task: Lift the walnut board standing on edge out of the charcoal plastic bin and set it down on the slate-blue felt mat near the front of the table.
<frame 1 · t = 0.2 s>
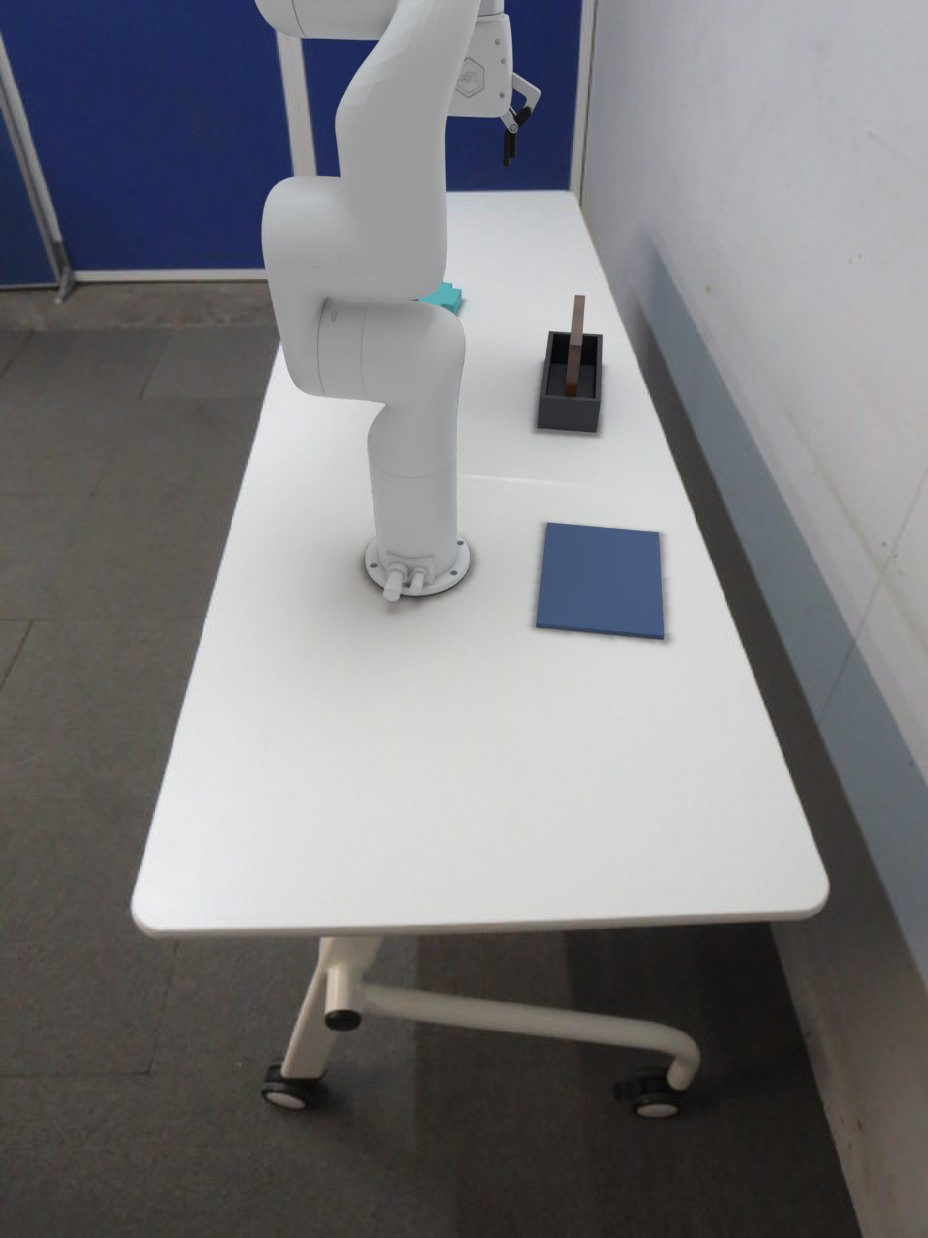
hand: (470, 162, 106), 31 cm above the table, tool pointing down, fingers open, 9 cm apart
bin: (569, 397, 124), on the table
mat: (600, 578, 95), on the table
board: (569, 393, 124), point 1 cm above the table, touching bin
alien figure: (404, 304, 147), on the table
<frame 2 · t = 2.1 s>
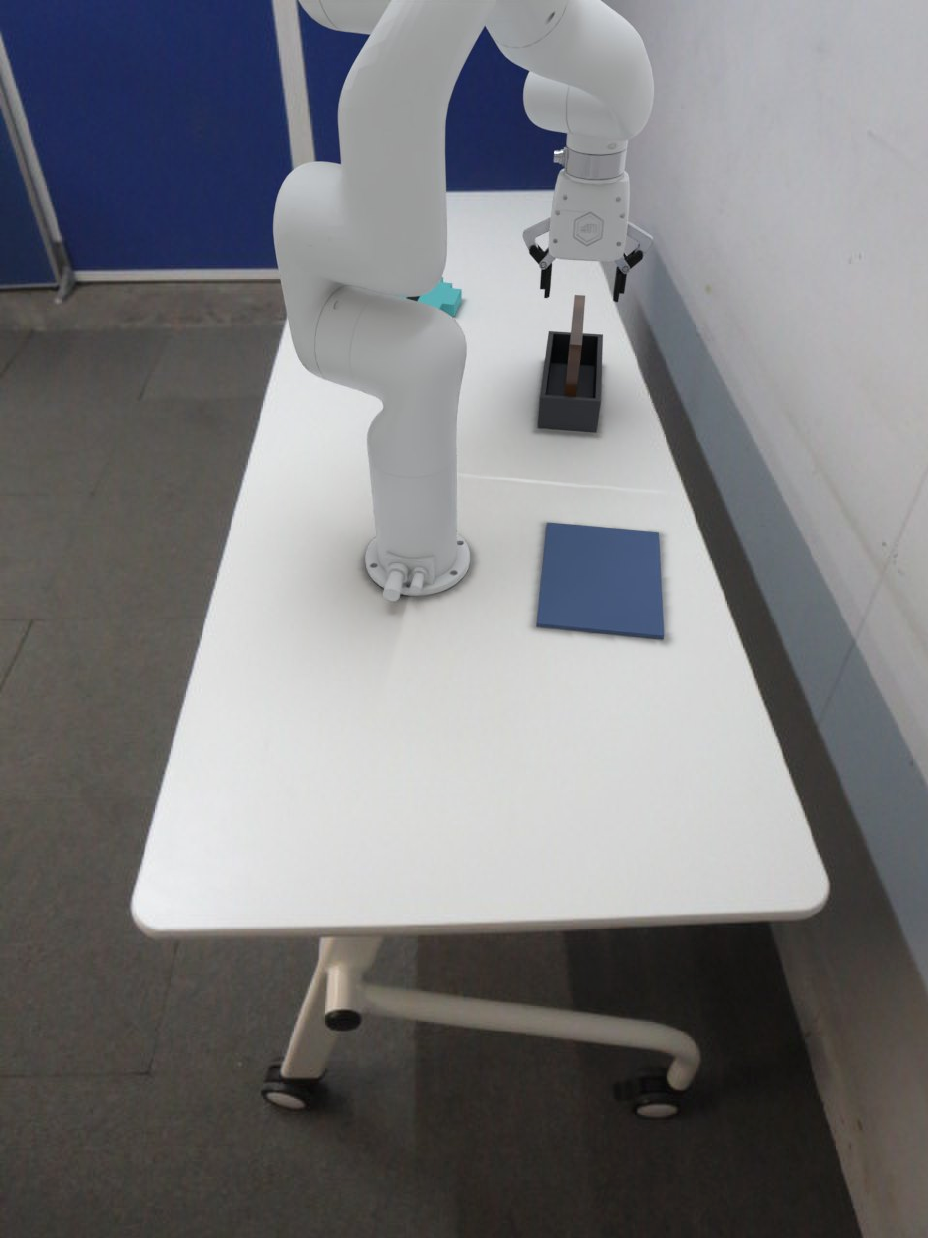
hand: (581, 295, 113), 16 cm above the table, tool pointing down, fingers open, 9 cm apart
nothing on the table moved.
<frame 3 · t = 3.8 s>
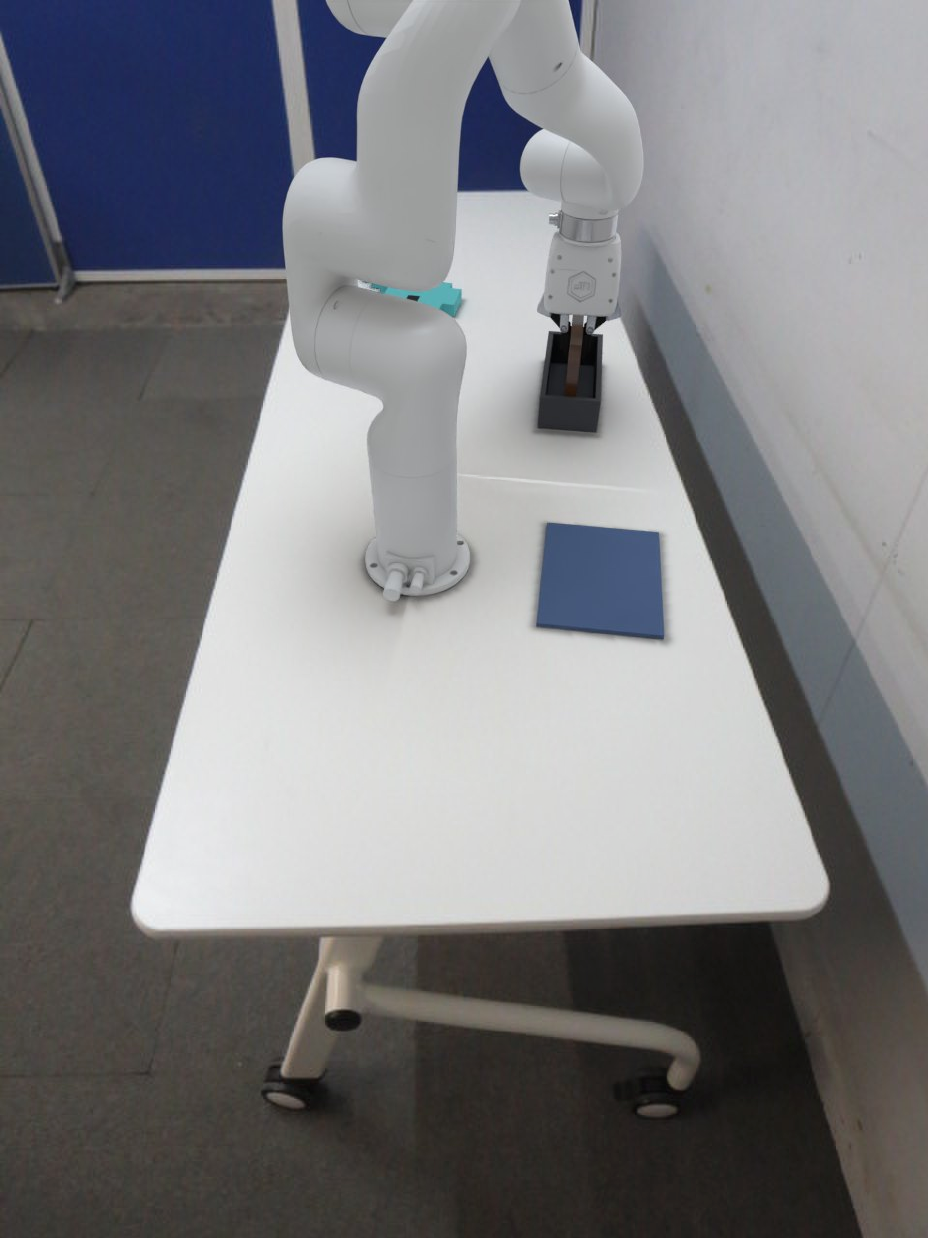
hand: (574, 354, 119), 7 cm above the table, tool pointing down, fingers closed on board, 1 cm apart
board: (569, 393, 124), point 1 cm above the table, touching bin, gripper
everything else where it was.
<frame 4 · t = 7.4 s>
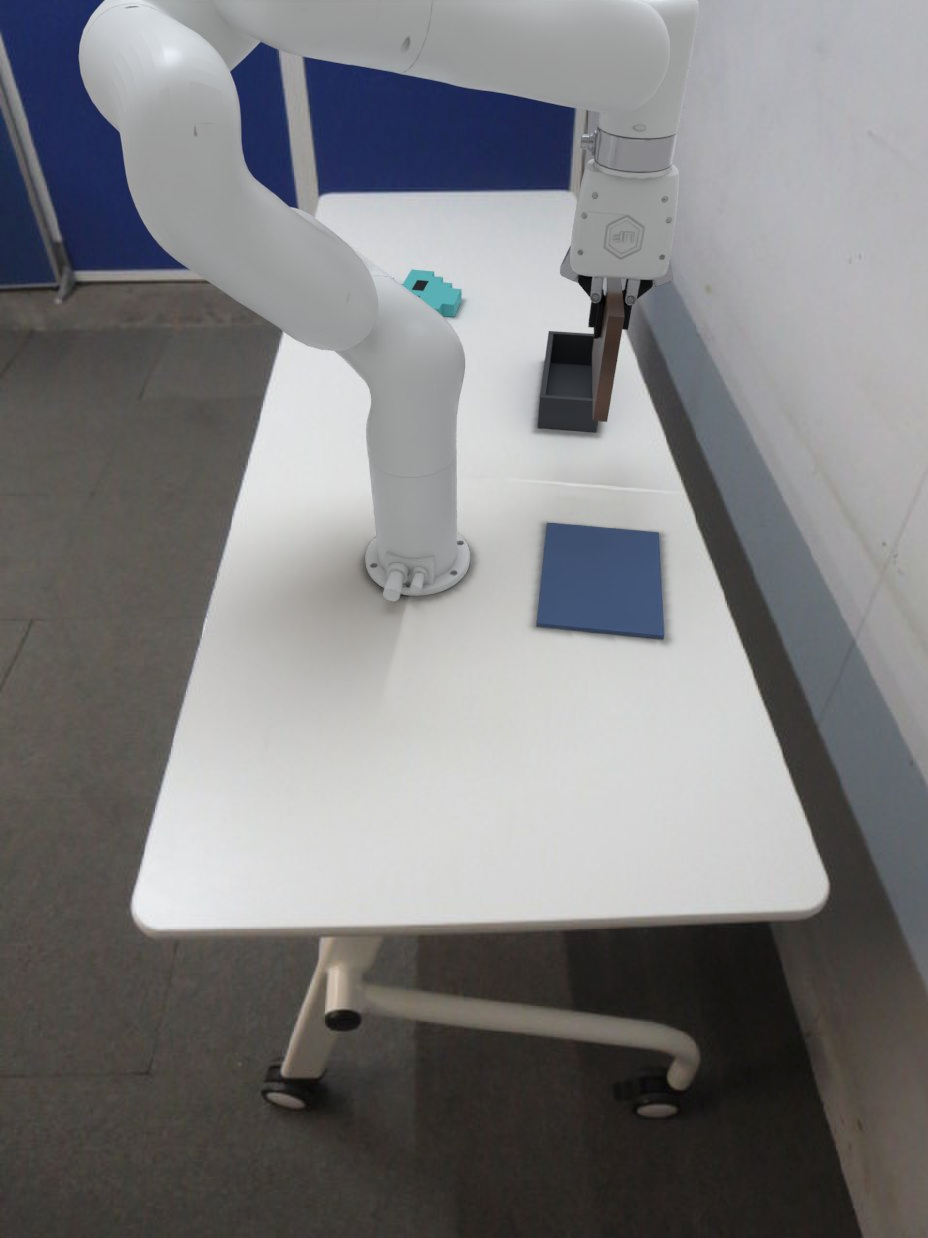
hand: (607, 332, 90), 23 cm above the table, tool pointing down, fingers closed on board
board: (599, 385, 94), point 16 cm above the table, touching gripper
everything else where it was.
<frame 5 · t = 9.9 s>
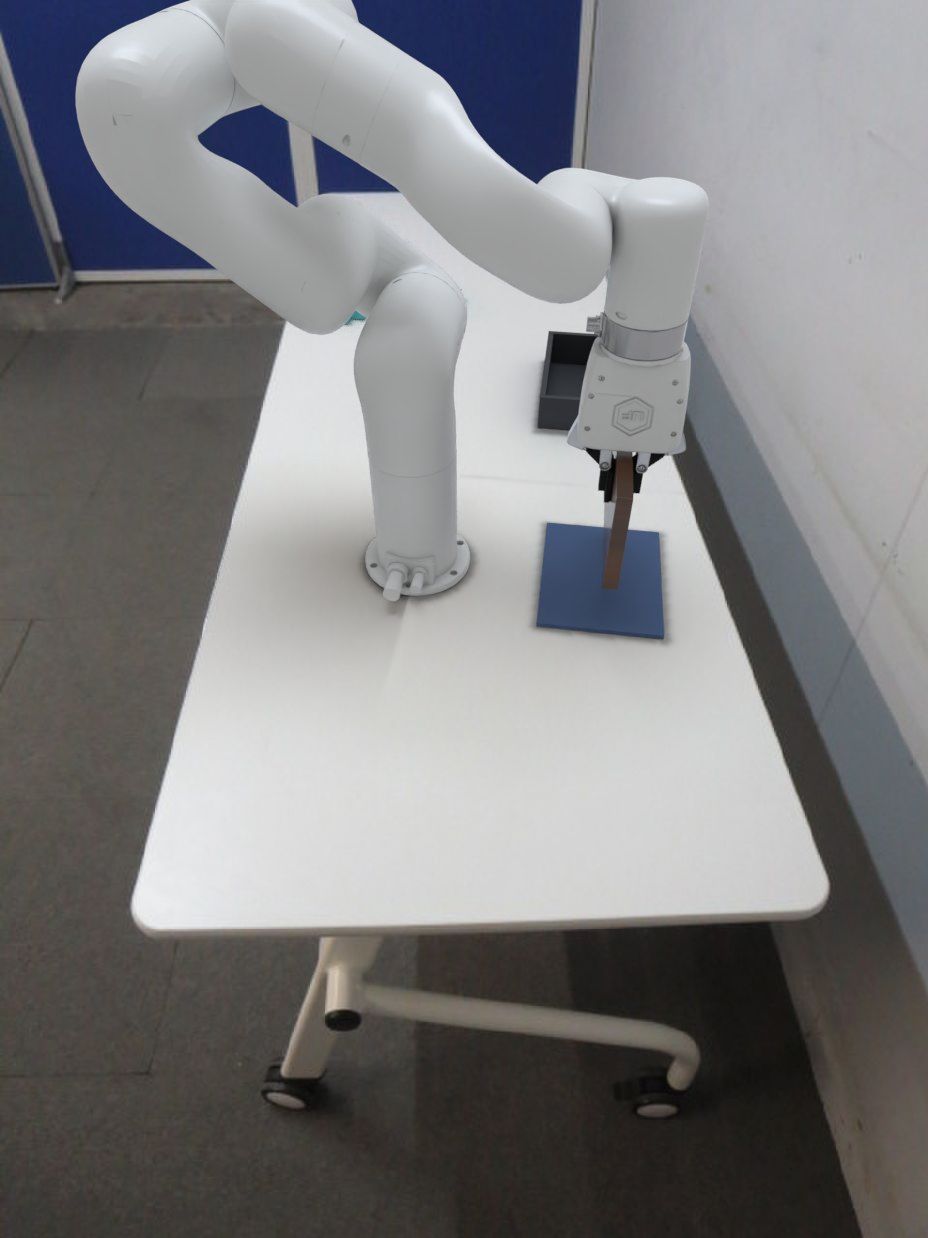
hand: (617, 494, 86), 12 cm above the table, tool pointing down, fingers closed on board
board: (610, 541, 91), point 6 cm above the table, touching gripper
everything else where it was.
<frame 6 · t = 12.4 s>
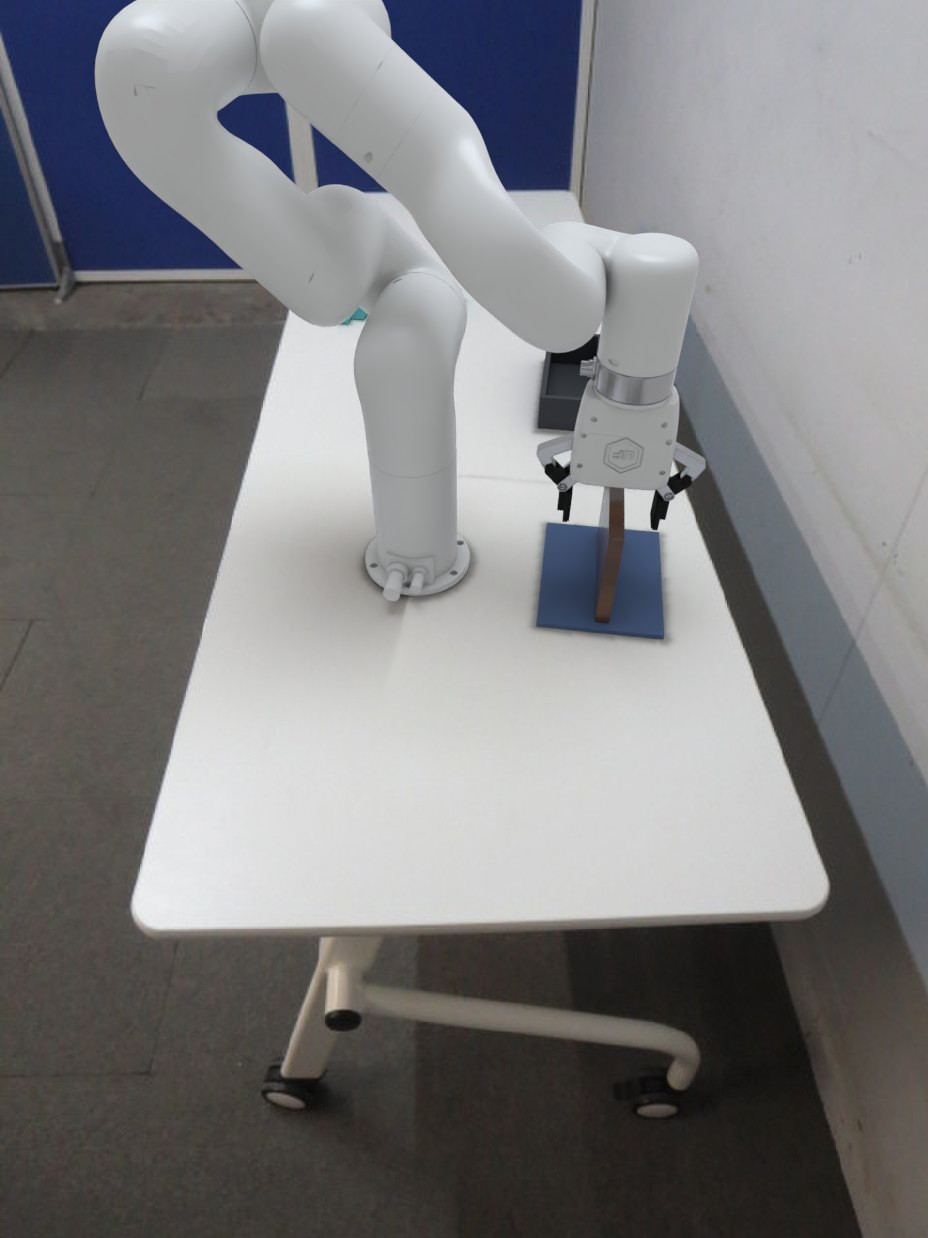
hand: (609, 518, 89), 9 cm above the table, tool pointing down, fingers open, 9 cm apart
board: (602, 574, 94), point 1 cm above the table, touching mat
everything else where it was.
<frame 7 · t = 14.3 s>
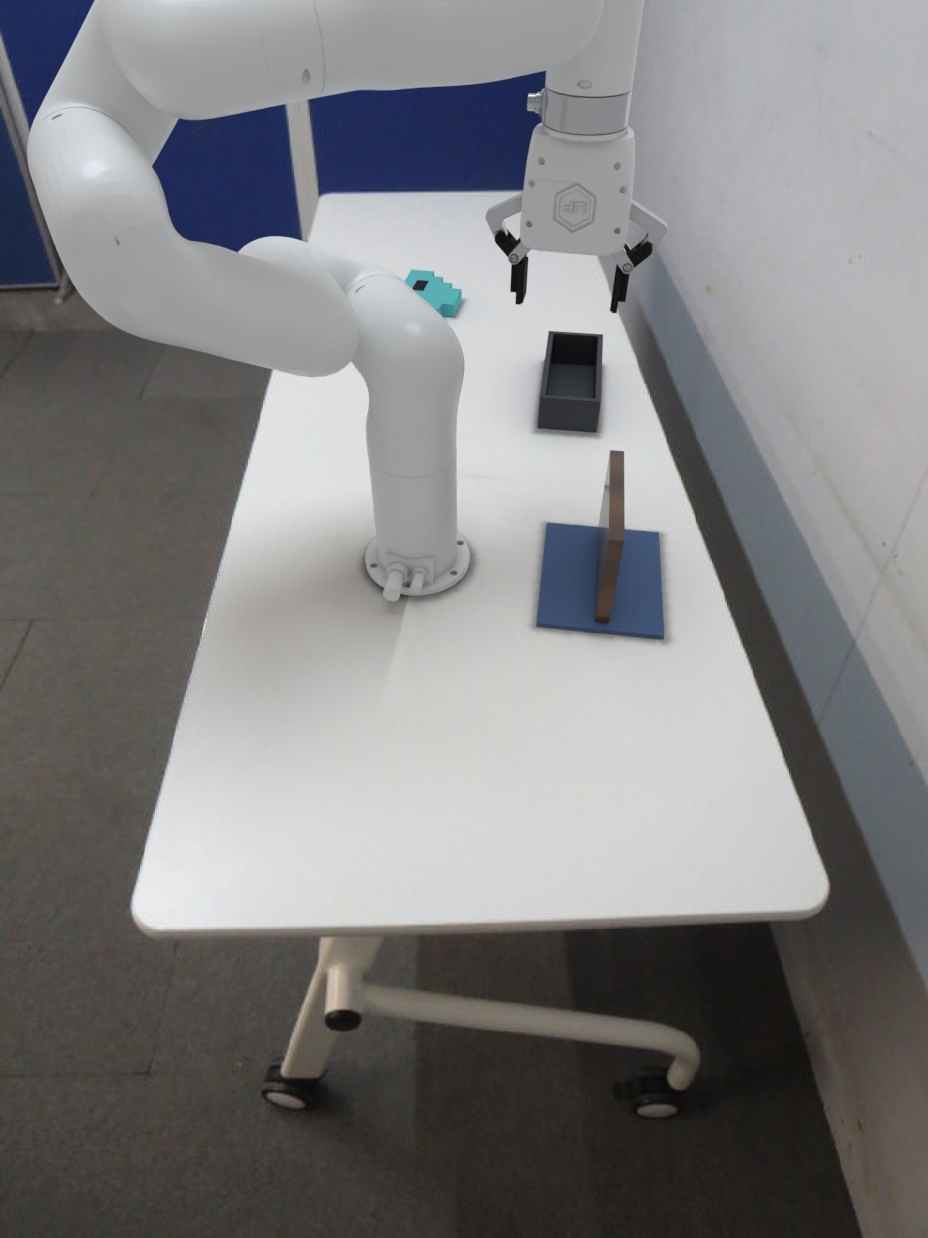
hand: (567, 303, 82), 28 cm above the table, tool pointing down, fingers open, 9 cm apart
nothing on the table moved.
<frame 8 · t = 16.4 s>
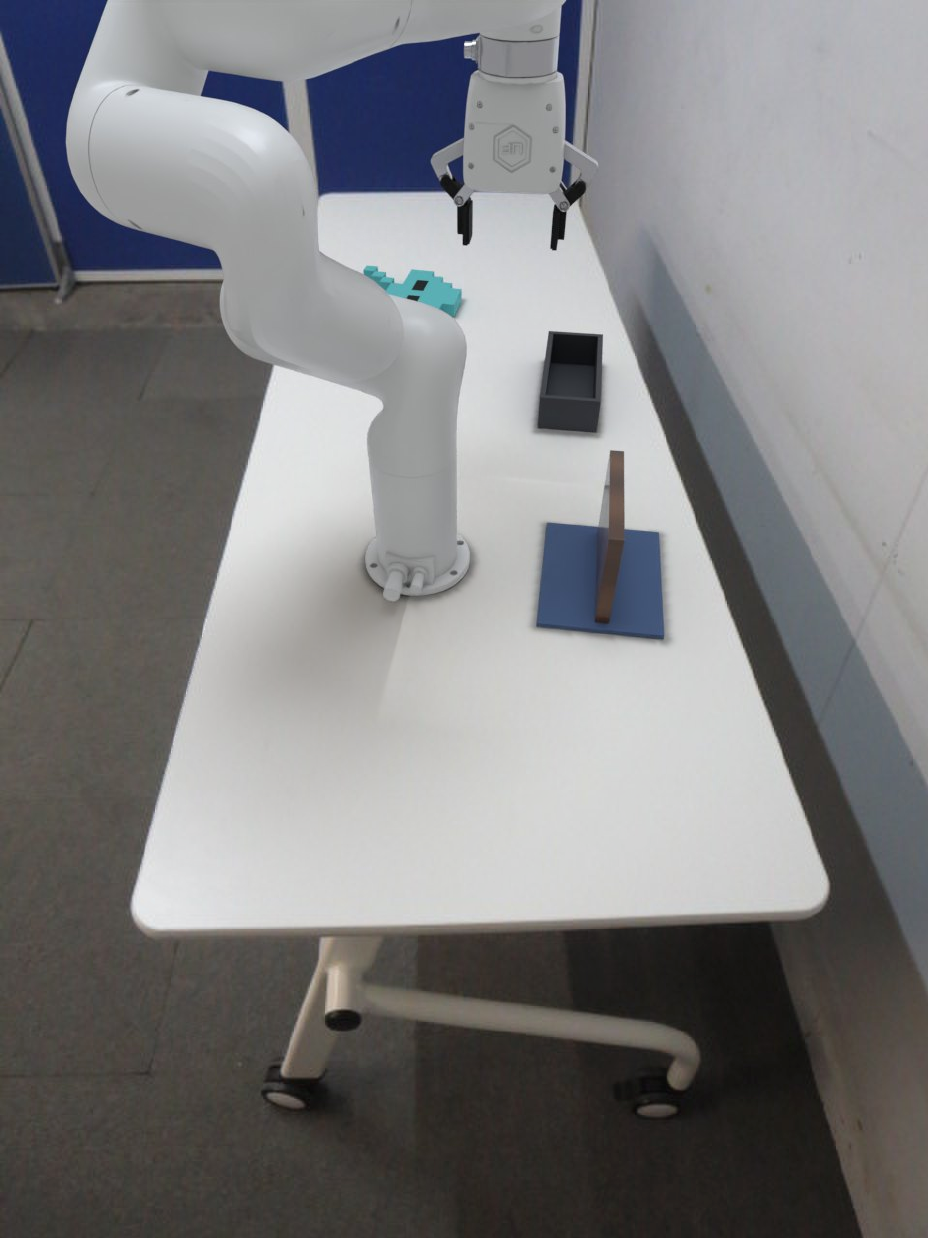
hand: (510, 243, 89), 30 cm above the table, tool pointing down, fingers open, 9 cm apart
nothing on the table moved.
at the end: board inside the target area on the mat (0.2 cm from its centre), point 0.6 cm above the mat's base; the gripper is holding nothing; board moved 41.4 cm from its start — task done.
